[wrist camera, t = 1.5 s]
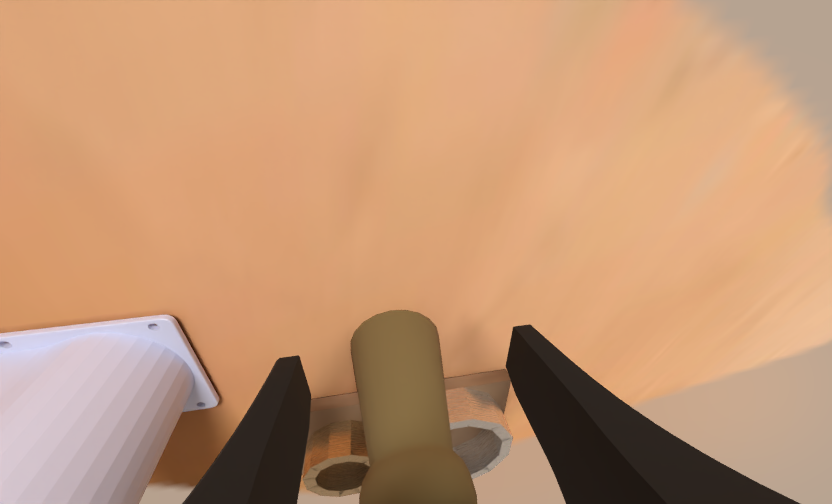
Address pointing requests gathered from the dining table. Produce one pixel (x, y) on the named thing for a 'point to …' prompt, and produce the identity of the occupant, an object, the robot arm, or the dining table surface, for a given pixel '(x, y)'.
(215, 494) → the robot arm
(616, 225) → the dining table surface
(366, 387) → the olive bulbous peg
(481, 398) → the wide steel ring
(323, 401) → the smooth grayish brown board
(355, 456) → the narrow bronze ring
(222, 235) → the dining table surface
